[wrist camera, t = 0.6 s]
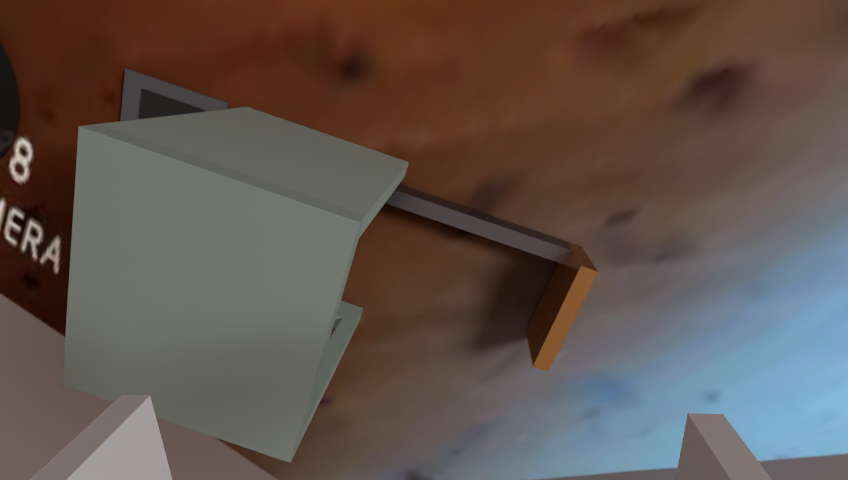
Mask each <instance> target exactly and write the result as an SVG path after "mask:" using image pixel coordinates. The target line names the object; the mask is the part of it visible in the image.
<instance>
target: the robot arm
mask: <svg viewBox="0 0 848 480" xmlns="http://www.w3.org/2000/svg"><path fill="white" fill-rule="evenodd" d="M18 122H19V95H18V88H17V84H16V80H15V76H14V73H13V70H12V67H11V64H10V62H9V59H8V57H7V55H6V53H5V51H4V49H3V47H2V45H1V44H0V159H1V158H2V157H3V156H4V154H5V153H6V152H7V151H8V149H9V147H10V146H11V144H12V142H13V140H14V137H15V134H16V131H17V127H18ZM30 480H172V477H171V474H170V470H169V466H168V462H167V458H166V454H165V450H164V447H163V443H162V439H161V435H160V432H159V428H158V424H157V420H156V416H155V412H154V408H153V404H152V401H151V397H150V396H149V395H121V396H120V397H119V398H118V399H117V400H116V401H115V402H114V403H112V404H111V405H110V406H109V407H108V408H107V409H106V410H105V411H104V412H103V413H102V414H101V415H99V417H97V418H96V419H95V420H94V421H93V422H92V423H91V424H90V425H89V426H88V427H86V428H85V430H83V431H82V432H81V433H80V434H79V435H78V436H77V437H76V438H75V439H73V440H72V441H71V442H70V443H69V444H68V445H67V446H66V447H65V448H64V449H63V450H61V452H59V453H58V454H57V455H56V456H55V457H54V458H53V459H52V460H51V461H50V462H49V463H48V464H46V465H45V466H44V467H43V468H42V469H41V470H40V471H39V472H38V473H37V474H35V475H34V476H33V477H32V478H31V479H30ZM676 480H772V479H771V478H770V477H769V475H768V474H767V473H766V471H765V470H764V469H763V467H762V466H761V464H760V463H759V462H758V460H757V459H756V458H755V456H754V455H753V454H752V452H751V451H750V450H749V448H748V447H747V446H746V445H745V443H744V442H743V441H742V439H741V438H740V437H739V435H738V434H737V433H736V431H735V430H734V429H733V427H732V426H731V425H730V423H729V422H728V421H727V419H726V418H725V417H724V415H722V414H692V413H688V415H687V421H686V426H685V431H684V437H683V442H682V448H681V453H680V459H679V464H678V469H677V475H676Z"/></svg>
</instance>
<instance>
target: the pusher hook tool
mask: <svg viewBox="0 0 848 480" xmlns="http://www.w3.org/2000/svg"><path fill="white" fill-rule="evenodd" d="M385 203H386V204H389V205H392V206H395V207H398V208H401V209H403V210H406V211H409V212H412V213H415V214H418V215H421V216H424V217H427V218H430V219H433V220H436V221H438V222H441V223H444V224H447V225H450V226H453V227H456V228H459V229H462V230H465V231H468V232H471V233H474V234H476V235H479V236H482V237H485V238H488V239H491V240H494V241H497V242H500V243H503V244H506V245H509V246H511V247H514V248H517V249H520V250H523V251H526V252H529V253H532V254H535V255H538V256H541V257H544V258H547V259H549V260H552V261H555V262H558V263H557V266H556V268H555V270H554V272H553V274H552V277H551V279H550V281H549V283H548V285H547V287H546V290H545V292H544V294H543V296H542V298H541V301H540V303H539V305H538V307H537V309H536V311H535V314H534V316H533V318H532V320H531V322H530V325H529V327H528V329H527V331H526V334H527V339H528V344H529V349H530V354H531V359H532V364H533V366H534V367H536V368H539V369H542V370H545V371H549V369H550V367H551V365H552V363H553V361H554V359H555V357H556V355H557V353H558V351H559V349H560V347H561V345H562V343H563V341H564V339H565V337H566V335H567V333H568V331H569V329H570V327H571V325H572V323H573V321H574V319H575V317H576V315H577V313H578V311H579V309H580V307H581V305H582V303H583V301H584V299H585V297H586V295H587V293H588V291H589V288H590V286H591V284H592V282H593V280H594V278H595V276H596V274H597V272H598V271H597V270H596V268H595V266H594V265H593V263H592V262H591V260H590V259H589V257H588V255H587V254H586V252H585V251H584V249H583V248H582V247H581V246H578V245H575V244H572V243H569V242H566V241H563V240H560V239H557V238H554V237H552V236H549V235H546V234H543V233H540V232H537V231H534V230H531V229H528V228H525V227H522V226H519V225H517V224H514V223H511V222H508V221H505V220H502V219H499V218H496V217H493V216H490V215H487V214H484V213H482V212H479V211H476V210H473V209H470V208H467V207H464V206H461V205H458V204H455V203H452V202H449V201H447V200H444V199H441V198H438V197H435V196H432V195H429V194H426V193H423V192H420V191H417V190H414V189H412V188H409V187H406V186H403V185H400V184H399V185H398V186H397V188H396V189H395V190H394V192H393V193H392V194H391V196H390V197H389V198H388V200H387V201H386V202H385Z"/></svg>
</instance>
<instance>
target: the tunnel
mask: <svg viewBox="0 0 848 480" xmlns="http://www.w3.org/2000/svg"><path fill="white" fill-rule="evenodd" d="M408 164H409V162H407V161H404V160H401V159H398V158H395V157H392V156H389V155H386V154H383V153H380V152H377V151H375V150H372V149H369V148H366V147H363V146H360V145H357V144H354V143H351V142H348V141H345V140H342V139H340V138H337V137H334V136H331V135H328V134H325V133H322V132H319V131H316V130H313V129H310V128H307V127H305V126H302V125H299V124H296V123H293V122H290V121H287V120H284V119H281V118H278V117H275V116H272V115H270V114H267V113H264V112H261V111H258V110H255V109H252V108H249V107H242V108H234V109H225V110H216V111H208V112H199V113H190V114H181V115H173V116H164V117H155V118H147V119H138V120H129V121H120V122H112V123H103V124H94V125H85V126H79V131H78V146H77V162H76V177H75V193H74V209H73V224H72V240H71V255H70V271H69V287H68V302H67V318H66V334H65V350H64V366H63V382H62V385H63V386H66V387H69V388H72V389H75V390H77V391H81V392H83V393H86V394H89V395H92V396H95V397H98V398H101V399H104V400H107V401H110V402H113V403H114V402H115V401H116V400H117V399H118V398H119V397H120V396H121V395H149V396H150V397H151V401H152V404H153V408H154V412H155V416H156V417H157V418H160V419H163V420H166V421H169V422H172V423H175V424H178V425H181V426H184V427H187V428H189V429H192V430H195V431H198V432H201V433H204V434H207V435H210V436H213V437H216V438H219V439H222V440H225V441H228V442H231V443H234V444H237V445H239V446H242V447H245V448H248V449H251V450H254V451H257V452H260V453H263V454H266V455H269V456H272V457H275V458H278V459H281V460H284V461H287V462H291V460H292V458H293V456H294V454H295V452H296V450H297V448H298V446H299V444H300V442H301V440H302V437H303V435H304V433H305V431H306V429H307V427H308V425H309V423H310V421H311V419H312V417H313V415H314V413H315V411H316V409H317V407H318V405H319V403H320V401H321V398H322V396H323V394H324V392H325V390H326V388H327V386H328V384H329V382H330V380H331V378H332V376H333V374H334V372H335V370H336V368H337V366H338V364H339V362H340V359H341V357H342V355H343V353H344V351H345V349H346V347H347V345H348V343H349V341H350V339H351V337H352V335H353V333H354V331H355V329H356V327H357V325H358V322H359V320H360V318H361V314H362V311H363V308H361V307H358V306H355V305H352V304H350V303H347V302H344V301H341V298H342V294H343V291H344V288H345V284H346V281H347V277H348V274H349V270H350V267H351V264H352V260H353V257H354V253H355V250H356V246H357V243H358V240H359V237H360V236H361V235H362V233H363V232H364V231H365V229H366V228H367V227H368V225H369V224H370V223H371V221H372V220H373V219H374V217H375V216H376V215H377V213H378V212H379V211H380V209H381V208H382V207H383V205H384V204H385V202H386V201H387V200H388V198H389V197H390V196H391V194H392V193H393V192H394V190H395V189H396V188H397V186H398V185H399V184H400V182H401V181H402V180H403V178H404V177H405V174H406V170H407V167H408ZM333 328H335V329H336V330H335V331H334V333H333V335H332V337H331V338H330V335H331V332H332V329H333ZM329 339H330V340H329Z"/></svg>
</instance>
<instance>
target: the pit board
mask: <svg viewBox="0 0 848 480" xmlns="http://www.w3.org/2000/svg"><path fill="white" fill-rule="evenodd" d="M227 108H228V103H227V102H224V101H221V100H218V99H215V98H212V97H209V96H206V95H203V94H200V93H197V92H194V91H192V90H189V89H186V88H183V87H180V86H177V85H174V84H171V83H168V82H165V81H162V80H159V79H157V78H154V77H151V76H148V75H145V74H142V73H139V72H136V71H133V70H130V69H125V76H124V86H123V97H122V108H121V118H120V121H129V120H138V119H147V118H155V117H164V116H173V115H181V114H190V113H199V112H208V111H216V110H225V109H227Z"/></svg>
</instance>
